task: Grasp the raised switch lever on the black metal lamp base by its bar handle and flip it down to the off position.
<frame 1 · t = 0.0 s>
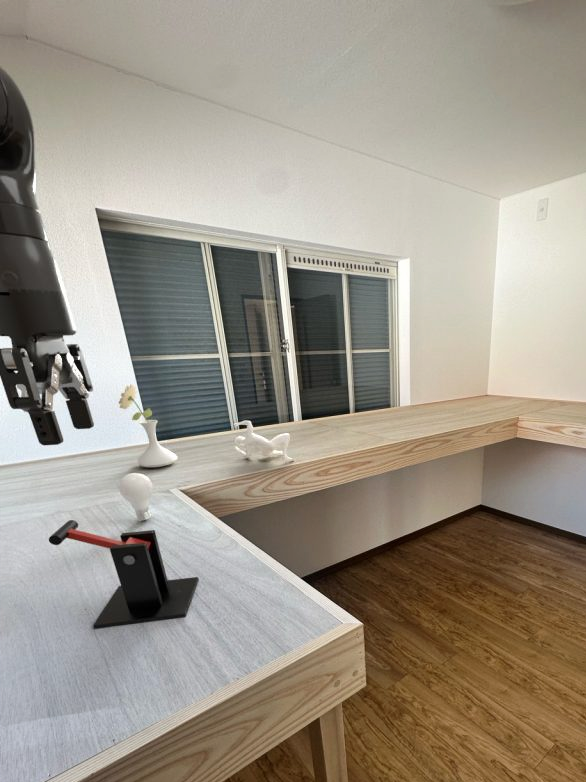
hand: (69, 435, 52), 27 cm above the table, tool pointing down, fingers open, 8 cm apart
flower in vase: (156, 466, 131), on the table
lightbulb: (145, 521, 93), on the table
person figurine: (264, 460, 136), on the table
switch base: (152, 607, 64), on the table
switch lever: (103, 542, 58), point 12 cm above the table, hinge at 25.0°
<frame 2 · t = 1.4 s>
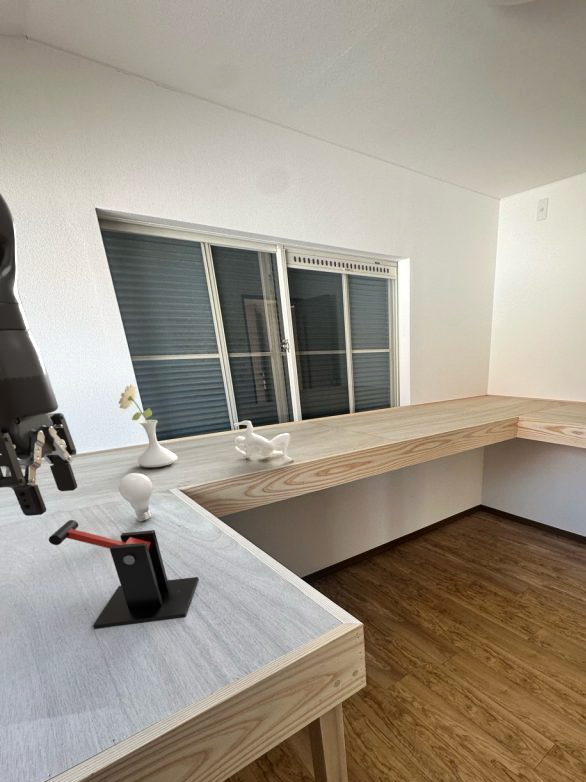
hand: (53, 501, 55), 18 cm above the table, tool pointing down, fingers open, 8 cm apart
nothing on the table moved.
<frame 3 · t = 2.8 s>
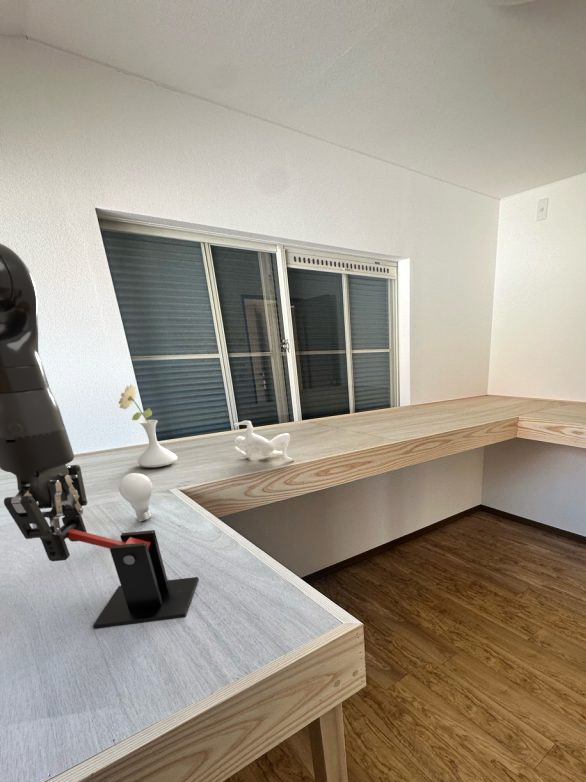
hand: (70, 548, 58), 11 cm above the table, tool pointing down, fingers closed on switch lever, 5 cm apart
switch lever: (103, 542, 58), point 12 cm above the table, hinge at 25.0°, touching gripper
everything else where it was.
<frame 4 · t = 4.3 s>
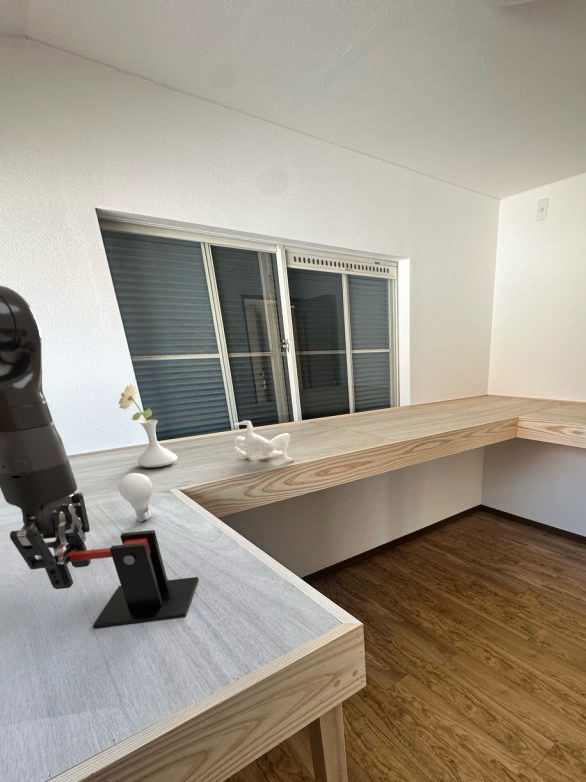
hand: (73, 575, 59), 7 cm above the table, tool pointing down, fingers closed on switch lever, 5 cm apart
switch lever: (104, 553, 59), point 10 cm above the table, hinge at -0.2°, touching gripper
everything else where it was.
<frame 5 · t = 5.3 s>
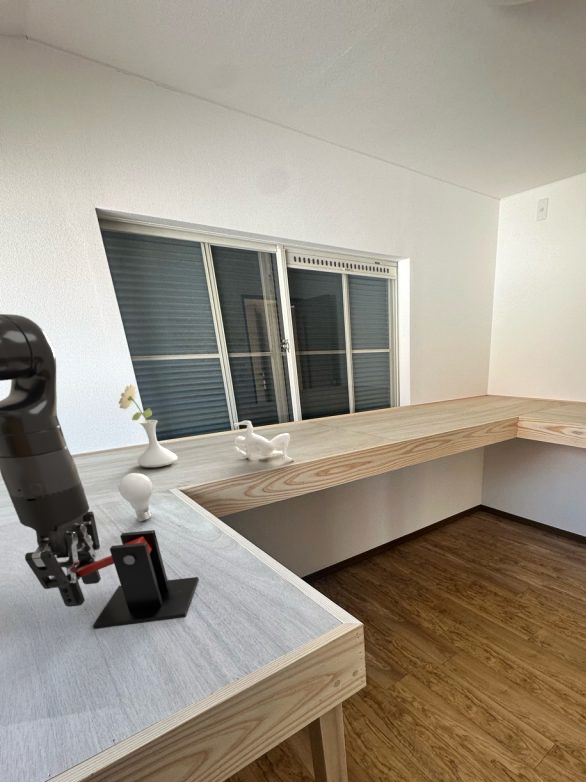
hand: (84, 592, 61), 4 cm above the table, tool pointing down, fingers closed on switch lever, 5 cm apart
switch lever: (108, 561, 59), point 9 cm above the table, hinge at -18.6°, touching gripper
everything else where it was.
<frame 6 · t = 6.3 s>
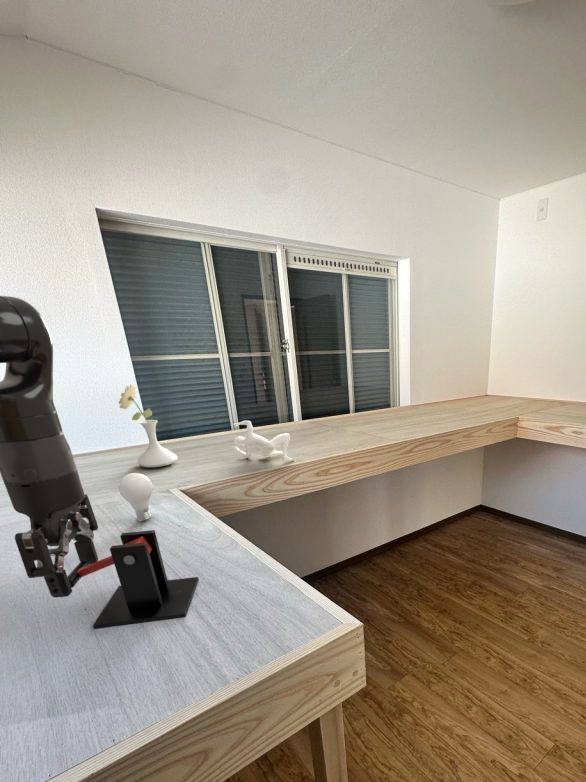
hand: (77, 578, 59), 7 cm above the table, tool pointing down, fingers open, 8 cm apart
switch lever: (108, 561, 60), point 9 cm above the table, hinge at -19.1°
everything else where it was.
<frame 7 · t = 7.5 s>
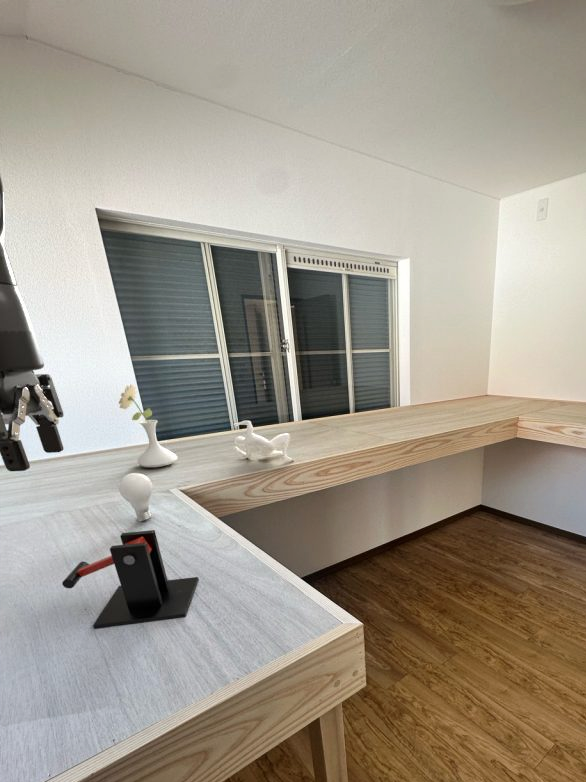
hand: (38, 460, 55), 23 cm above the table, tool pointing down, fingers open, 8 cm apart
nothing on the table moved.
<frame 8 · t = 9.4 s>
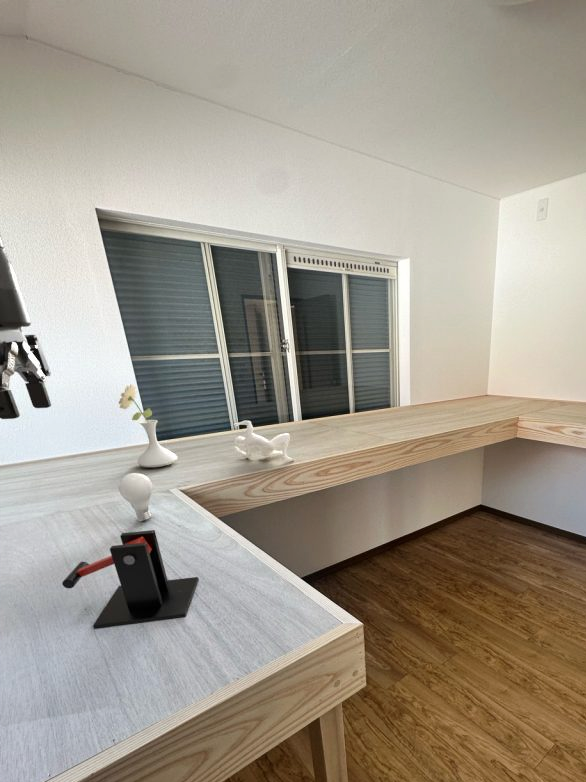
hand: (27, 412, 60), 28 cm above the table, tool pointing down, fingers open, 8 cm apart
nothing on the table moved.
at the end: switch lever at -19° (first picture: +25°) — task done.
